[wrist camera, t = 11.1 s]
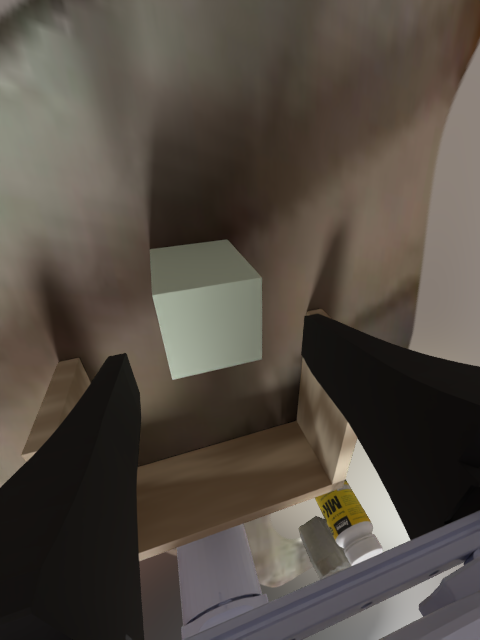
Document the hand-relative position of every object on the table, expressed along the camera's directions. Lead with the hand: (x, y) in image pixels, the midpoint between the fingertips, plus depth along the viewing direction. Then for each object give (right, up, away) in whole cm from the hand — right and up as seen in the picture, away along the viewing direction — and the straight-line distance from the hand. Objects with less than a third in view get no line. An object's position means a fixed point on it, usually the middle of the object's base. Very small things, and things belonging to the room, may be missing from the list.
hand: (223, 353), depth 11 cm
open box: (-2, -5, +12) cm, 13 cm away
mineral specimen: (+12, -30, +32) cm, 45 cm away
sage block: (-2, +4, +6) cm, 8 cm away
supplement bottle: (+12, -20, +26) cm, 36 cm away
